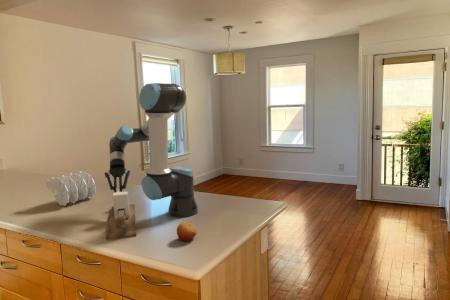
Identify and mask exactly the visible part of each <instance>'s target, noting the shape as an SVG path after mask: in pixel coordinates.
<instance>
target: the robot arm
mask: <svg viewBox="0 0 450 300" xmlns="http://www.w3.org/2000/svg"><path fill="white" fill-rule="evenodd" d="M140 89H141V90H140V92H139V94H138V95H139V96H138V101H139V105H140V108H141V109H143V110H144V114H145V116H146V117H148V119H147V120H146V121H145V122H144V124H142V125H141V127H137V128H132V127H131V126H129V125H126V124H125V125H121V126H119V129H118V130H117V131H116V134H115V136H112V137H110V139H109V144H108V146H109V169H108V171H107V172H106V171H105V172H104V177H105V178H106V179H107V182H108V186H109V189H110V191H113V193H114V192H123V189H124V190H126V189H127V186H128V185H127V184H128V180H129V178H130V177H129V176H131V171H130V170H127V169H126V165H125V164H126V163H125V148H126V147H127V145H128V144H130V143H131V144H132V143H141V142H148V147H149V148H148V151H149V156H148V157H149V168H148V169H147V170H146V176H144V177H142V180H141V188H142V192H143V194H144V195H145V196H146V197H147V199H149V200H151V201H156V200H161V199H164V198H168V197H170V202H169V205H168V210H167V211H168V215H169V216H172V217H178V218H181V217H182V218H183V217H189V216H194V215H196V214H198V213H199V207H198V203H197V200H196V199H195V187H194V186H195V185H194V173H193V172H194V171H193V170H192V169H191V168H187V167H169V148H168V147H169V139H168V138H169V134H168V132H169V131H168V128H169V127H168V126H169V125H168V122H169V121H168V120H169V119H170V118H171V117H172V116H173V115H174V114H177V113H179V112H180V111H181V110H183V108H184V107H185V104H186V101H187V94H186V91H185V90H184V89H183V88H182V87H181V86H180V85H179V84H176V83H161V82H160V83H159V82H153V83H152V82H151V83H147V84H146V83H145V84H144V85H143V86H142V88H140ZM124 174H125V176H124ZM111 176H112V178H113V183H112V180H111ZM123 176H124V180H122V179H123V178H122V177H123ZM117 180H118V182H119V185H118V186H119V187H118V186H117V183H118V182H117Z"/></svg>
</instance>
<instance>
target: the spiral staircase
mask: <svg viewBox="0 0 450 300" xmlns="http://www.w3.org/2000/svg"><path fill="white" fill-rule="evenodd" d="M44 186H45V187H46V188H47V189H48V190H50V191H51V193H52V195H53V196H54V198H55V203H57V204H59V206H64V207H66V206H67V204H68V203H69V204H70V203H71V204H72V205H74V204H75V203H76V202H78V201H81V200H83V201H84V200H85V199H87V198H91V199H92V198H93V197H94V195H96V191H97V187H96V183H95V180H94V179H93V176H92V175H91V174H89V173H87V171H81V170H79V171H78V172H75V173H72V172H70V173H69V174H68V175H64V174H63V175H61V176H57V177H54V176H52V177H51V178H49V179H46V182H45V185H44Z"/></svg>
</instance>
